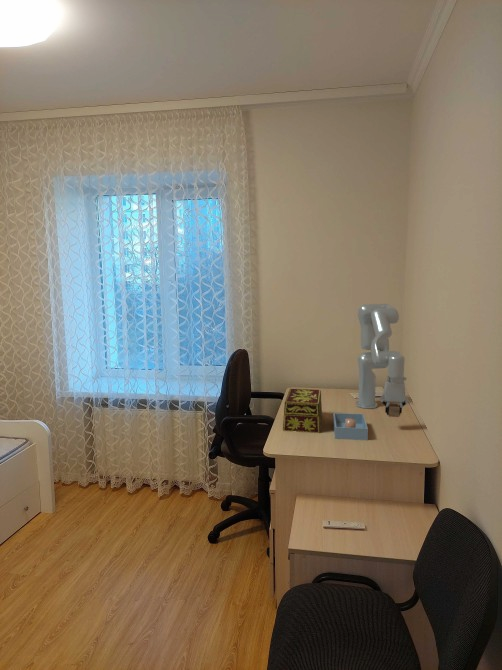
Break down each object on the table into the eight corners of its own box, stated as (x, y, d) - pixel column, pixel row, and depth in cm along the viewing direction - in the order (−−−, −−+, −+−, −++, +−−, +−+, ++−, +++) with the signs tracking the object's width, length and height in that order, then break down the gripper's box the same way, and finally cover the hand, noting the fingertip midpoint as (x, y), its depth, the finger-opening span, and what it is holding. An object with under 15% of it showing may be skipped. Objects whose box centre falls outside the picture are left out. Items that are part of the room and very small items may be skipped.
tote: (333, 423, 239) (333, 412, 238) (362, 424, 237) (363, 414, 236) (334, 438, 218) (335, 427, 217) (367, 440, 216) (367, 428, 215)
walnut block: (387, 412, 232) (387, 403, 231) (397, 413, 231) (398, 404, 230) (388, 416, 227) (389, 407, 226) (399, 417, 226) (399, 407, 225)
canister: (344, 431, 226) (345, 417, 224) (355, 431, 225) (355, 418, 224) (345, 435, 221) (345, 421, 220) (355, 435, 220) (356, 421, 219)
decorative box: (288, 413, 255) (288, 387, 253) (322, 415, 252) (322, 389, 250) (282, 431, 229) (282, 402, 226) (320, 433, 225) (320, 404, 223)
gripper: (411, 377, 228) (409, 412, 231) (376, 376, 230) (374, 410, 234) (414, 382, 220) (412, 417, 224) (378, 381, 223) (376, 416, 226)
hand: (393, 413), depth 229 cm, fingers closed on walnut block, 5 cm apart
